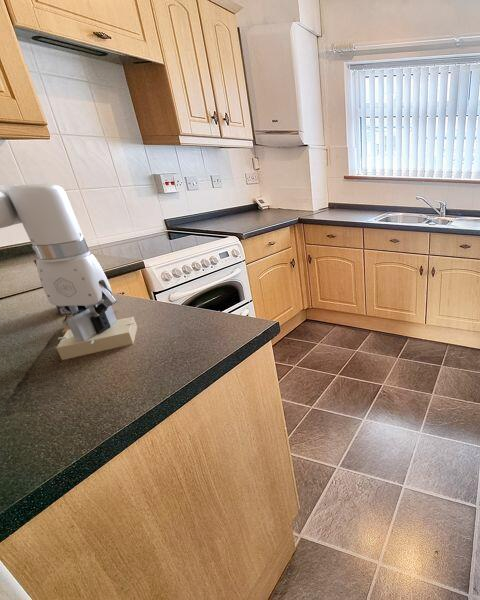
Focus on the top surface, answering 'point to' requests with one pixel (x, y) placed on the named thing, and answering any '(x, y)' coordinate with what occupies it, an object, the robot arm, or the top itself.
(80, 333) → the pale blue rectangular brick
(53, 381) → the top surface
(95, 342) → the low beige pedestal
